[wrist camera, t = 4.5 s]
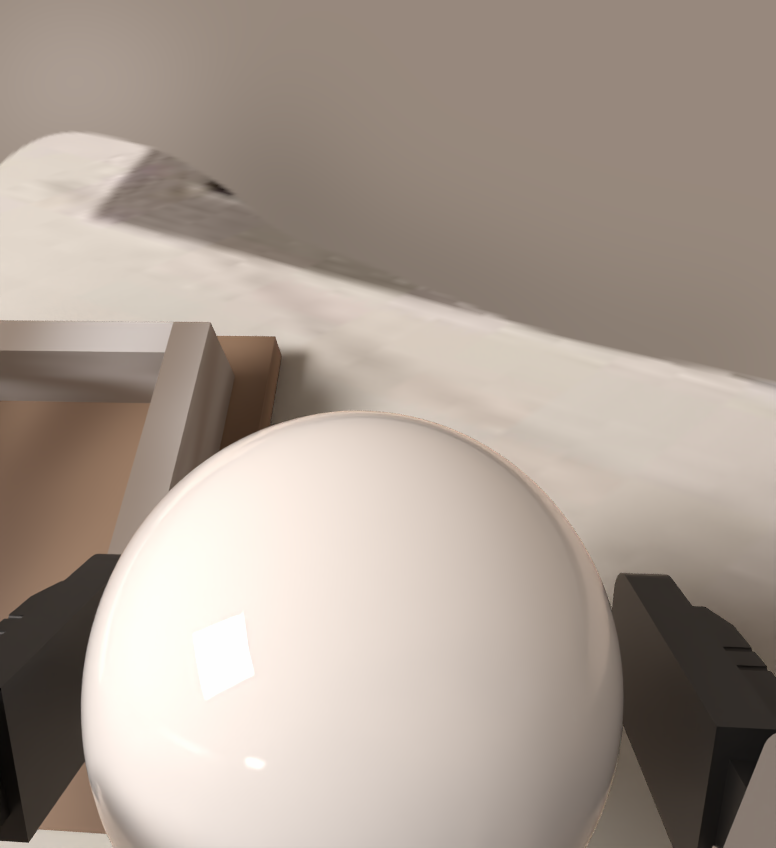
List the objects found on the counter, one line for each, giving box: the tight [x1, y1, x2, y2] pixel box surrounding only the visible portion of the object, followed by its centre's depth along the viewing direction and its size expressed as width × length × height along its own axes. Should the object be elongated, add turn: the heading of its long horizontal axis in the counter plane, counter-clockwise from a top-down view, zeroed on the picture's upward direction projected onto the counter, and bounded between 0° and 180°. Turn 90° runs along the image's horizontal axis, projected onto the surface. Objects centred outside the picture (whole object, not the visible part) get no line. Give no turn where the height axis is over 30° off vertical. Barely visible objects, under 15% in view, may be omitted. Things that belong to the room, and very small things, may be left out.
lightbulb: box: [81, 410, 624, 848], centre depth 10 cm, size 6×6×11 cm
